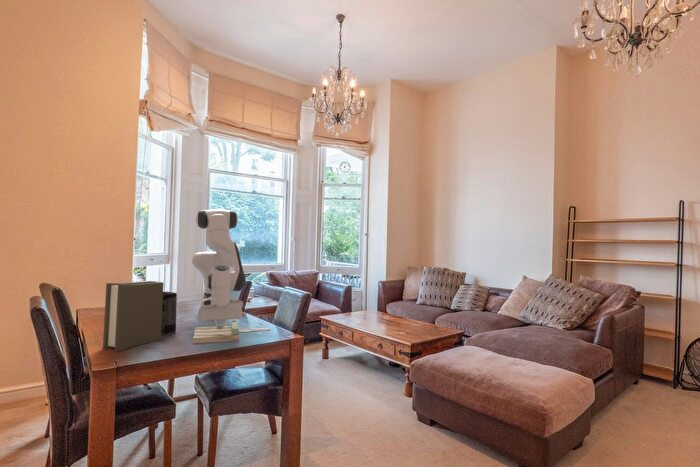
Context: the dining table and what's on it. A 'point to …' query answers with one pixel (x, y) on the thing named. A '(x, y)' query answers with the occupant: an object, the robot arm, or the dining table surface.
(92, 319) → the dining table surface
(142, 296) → the book
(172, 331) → the electronic device
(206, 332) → the wooden cutting board
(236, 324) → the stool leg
